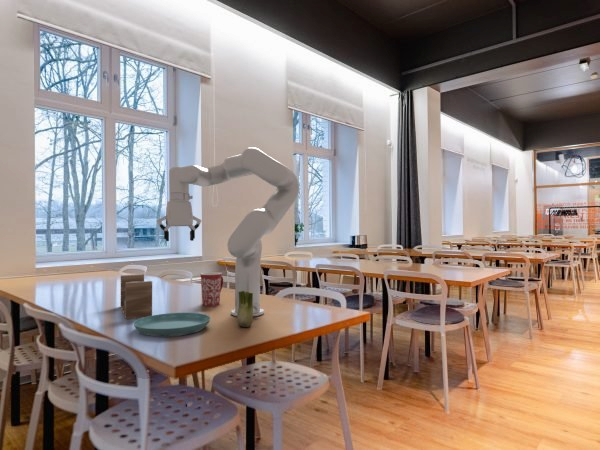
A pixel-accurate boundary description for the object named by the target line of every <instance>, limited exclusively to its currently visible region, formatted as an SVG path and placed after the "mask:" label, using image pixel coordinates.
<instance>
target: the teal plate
mask: <svg viewBox="0 0 600 450" xmlns="http://www.w3.org/2000/svg"><path fill="white" fill-rule="evenodd" d="M210 321H211V316H210V315H208V314H204V313H198V312H171V313H170V312H169V313H160V314H152V316H148V317H142V318H137V319H135V320H134V322H133V323H132V324H133V326H134V328H135V329H136V330H137V331H138V332H140V333H141V334H142V335H145V336H149V337H159V338H160V337H166V338H167V337H179V336H184V335H185V336H187V335H191V334H194V333H197V332H199V331H202V330H203V329H204V328H205V327H206V326H207V325H208V324H209V323H210Z"/></svg>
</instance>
